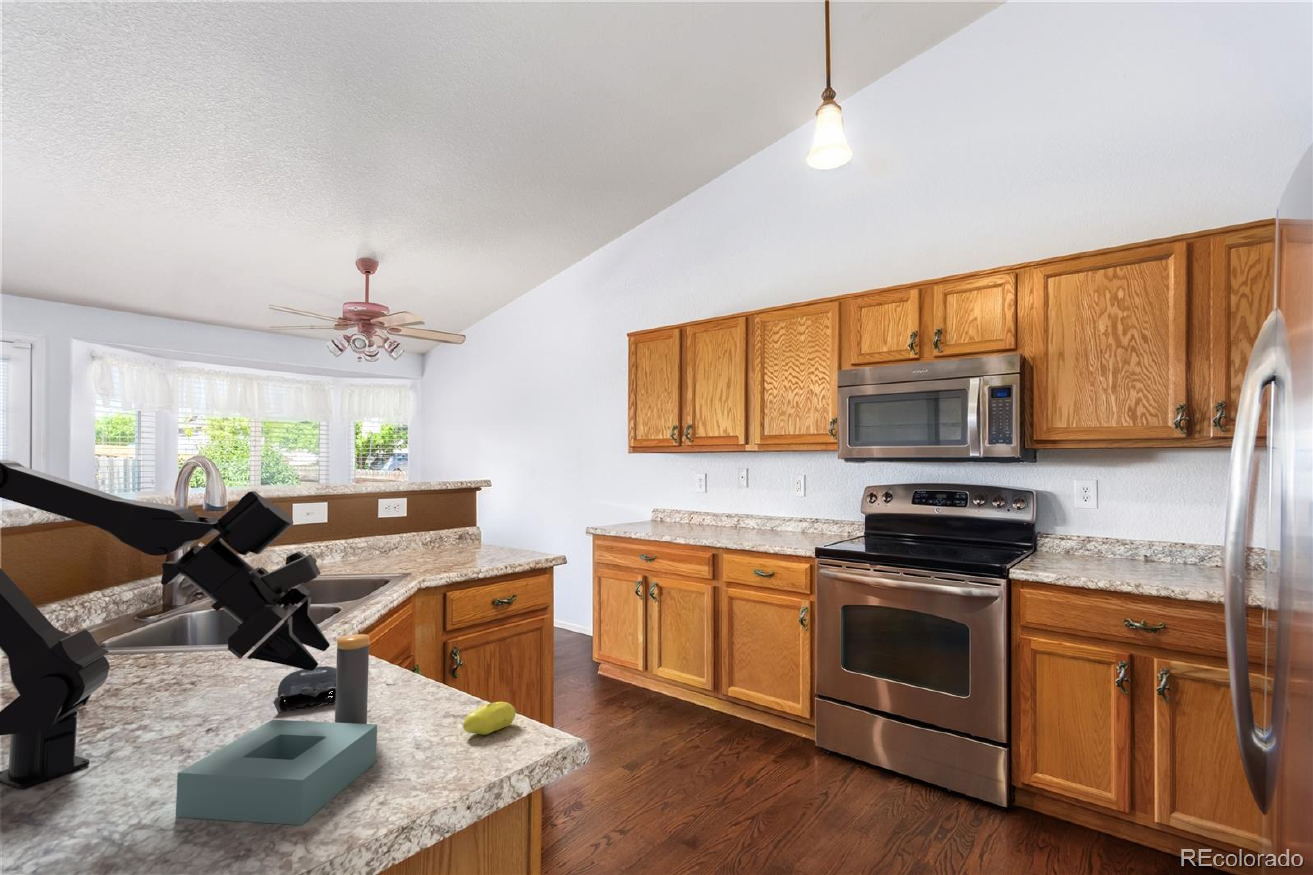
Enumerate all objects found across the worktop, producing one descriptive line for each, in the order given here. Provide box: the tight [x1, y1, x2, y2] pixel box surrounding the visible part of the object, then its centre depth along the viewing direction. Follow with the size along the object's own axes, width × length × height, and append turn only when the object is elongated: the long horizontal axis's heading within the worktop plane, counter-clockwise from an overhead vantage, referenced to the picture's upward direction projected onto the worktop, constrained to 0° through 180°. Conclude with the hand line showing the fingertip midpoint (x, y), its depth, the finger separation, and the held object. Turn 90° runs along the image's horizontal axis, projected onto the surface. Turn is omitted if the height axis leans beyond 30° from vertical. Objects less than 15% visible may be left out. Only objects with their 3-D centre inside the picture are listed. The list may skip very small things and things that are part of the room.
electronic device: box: [272, 665, 336, 714], centre depth 101 cm, size 9×6×15 cm
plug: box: [334, 633, 370, 724], centre depth 86 cm, size 4×4×13 cm
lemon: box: [462, 701, 516, 736], centre depth 87 cm, size 4×8×4 cm, turn 132°
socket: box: [175, 719, 378, 826], centre depth 71 cm, size 14×14×4 cm
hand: (321, 657), depth 85 cm, fingers open, 9 cm apart
